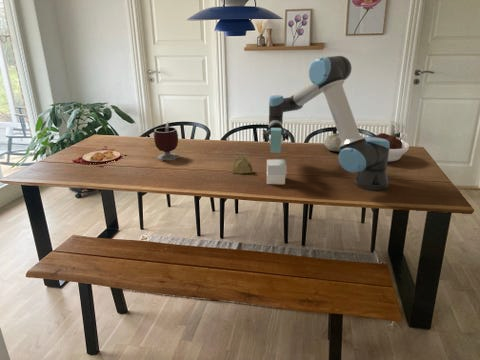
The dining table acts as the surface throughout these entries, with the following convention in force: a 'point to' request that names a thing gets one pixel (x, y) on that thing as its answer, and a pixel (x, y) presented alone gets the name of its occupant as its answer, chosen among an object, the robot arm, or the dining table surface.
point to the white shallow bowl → (394, 146)
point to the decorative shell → (333, 142)
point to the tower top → (276, 167)
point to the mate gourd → (166, 141)
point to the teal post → (275, 140)
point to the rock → (241, 165)
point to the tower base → (275, 179)
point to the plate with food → (99, 156)
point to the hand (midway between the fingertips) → (275, 141)
